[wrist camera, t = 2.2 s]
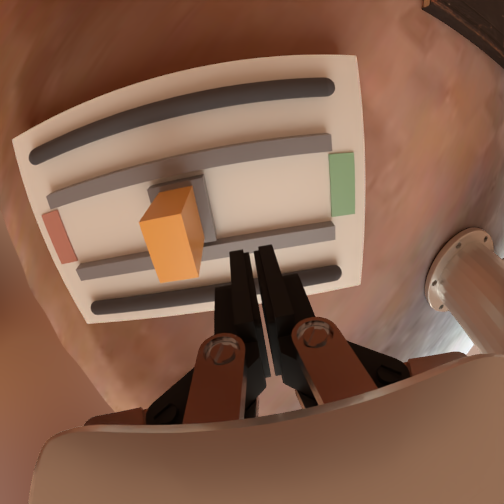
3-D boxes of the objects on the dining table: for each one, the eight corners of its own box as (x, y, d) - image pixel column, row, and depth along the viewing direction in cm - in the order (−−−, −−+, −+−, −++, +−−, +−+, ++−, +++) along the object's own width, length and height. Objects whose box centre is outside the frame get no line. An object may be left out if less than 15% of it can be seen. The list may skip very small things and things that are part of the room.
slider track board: (341, 59, 18) (362, 53, 15) (349, 267, 28) (364, 291, 25) (30, 133, 18) (5, 142, 15) (96, 305, 28) (84, 330, 25)
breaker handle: (203, 174, 19) (194, 203, 14) (216, 234, 22) (213, 280, 16) (150, 185, 19) (123, 218, 14) (167, 243, 22) (150, 290, 16)
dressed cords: (329, 77, 16) (336, 76, 15) (338, 273, 25) (343, 282, 24) (33, 149, 17) (23, 153, 15) (96, 309, 25) (92, 318, 24)
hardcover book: (414, -79, 8) (424, -85, 6) (529, 15, 11) (540, 15, 9) (418, 10, 15) (431, 6, 13) (531, 99, 18) (543, 102, 16)
